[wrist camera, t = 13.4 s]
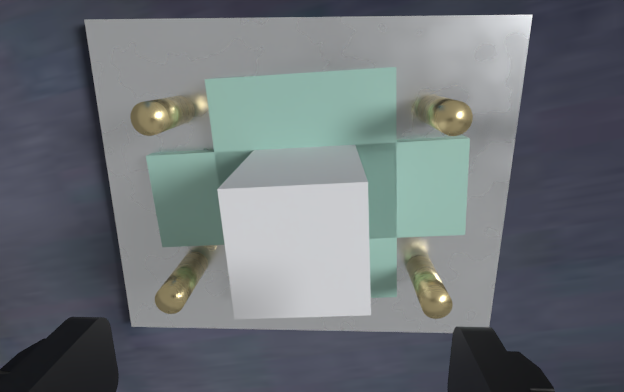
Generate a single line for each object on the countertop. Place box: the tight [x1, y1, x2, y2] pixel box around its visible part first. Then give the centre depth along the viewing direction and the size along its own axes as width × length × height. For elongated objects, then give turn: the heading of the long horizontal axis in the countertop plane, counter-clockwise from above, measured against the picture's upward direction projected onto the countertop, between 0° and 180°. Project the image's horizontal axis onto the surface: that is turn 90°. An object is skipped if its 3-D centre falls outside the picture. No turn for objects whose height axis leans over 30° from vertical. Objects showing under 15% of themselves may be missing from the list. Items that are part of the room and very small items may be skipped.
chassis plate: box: [84, 15, 532, 333], centre depth 20 cm, size 21×17×5 cm
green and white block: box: [146, 67, 470, 319], centre depth 18 cm, size 16×12×8 cm
